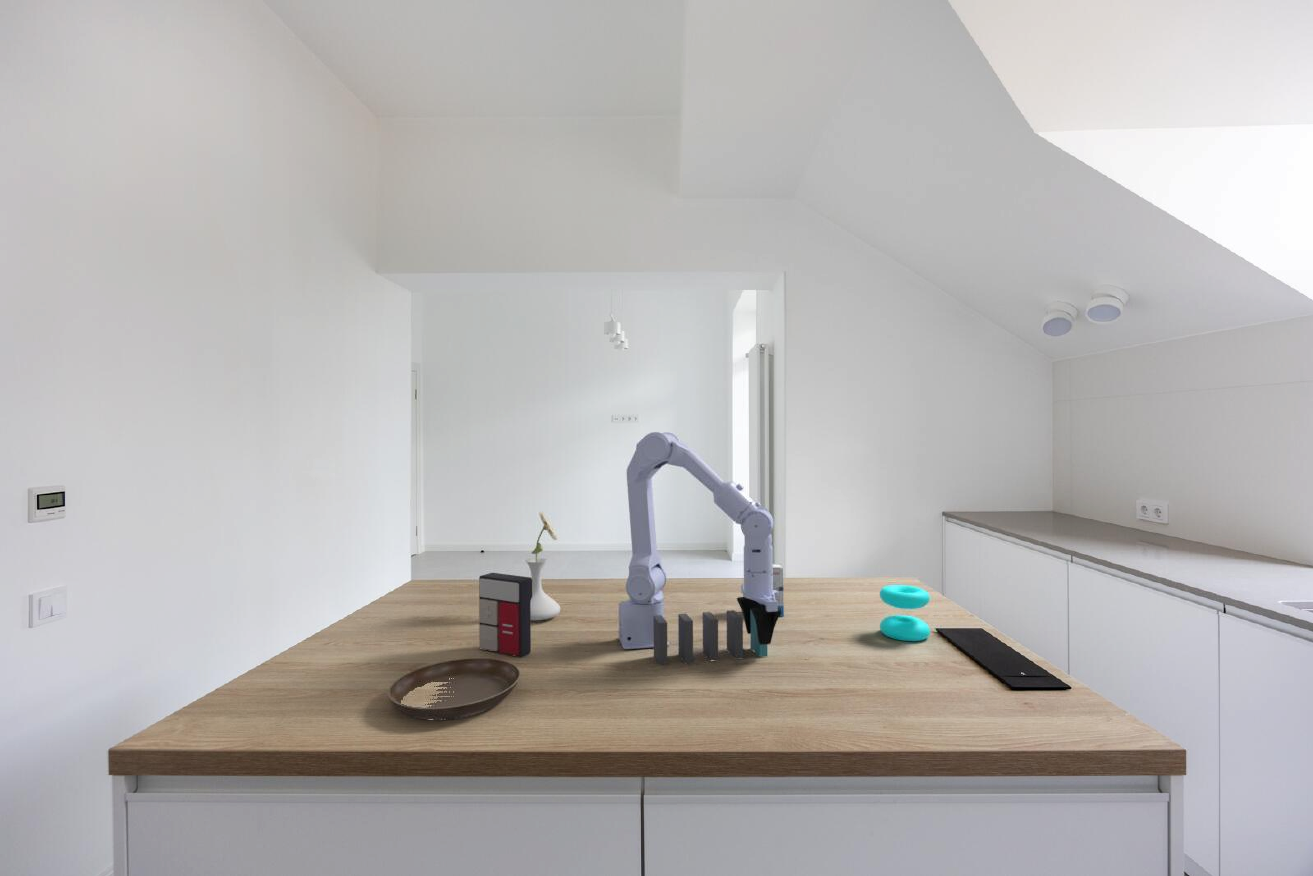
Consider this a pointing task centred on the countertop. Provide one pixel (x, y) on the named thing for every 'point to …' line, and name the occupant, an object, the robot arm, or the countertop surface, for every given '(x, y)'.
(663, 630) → the black domino
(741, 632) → the black domino
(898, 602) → the donuts
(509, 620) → the toy cabinet
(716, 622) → the domino block
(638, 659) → the countertop surface
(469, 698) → the plant saucer
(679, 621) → the black domino
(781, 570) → the ink box
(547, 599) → the flower in vase
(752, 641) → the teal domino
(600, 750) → the countertop surface
